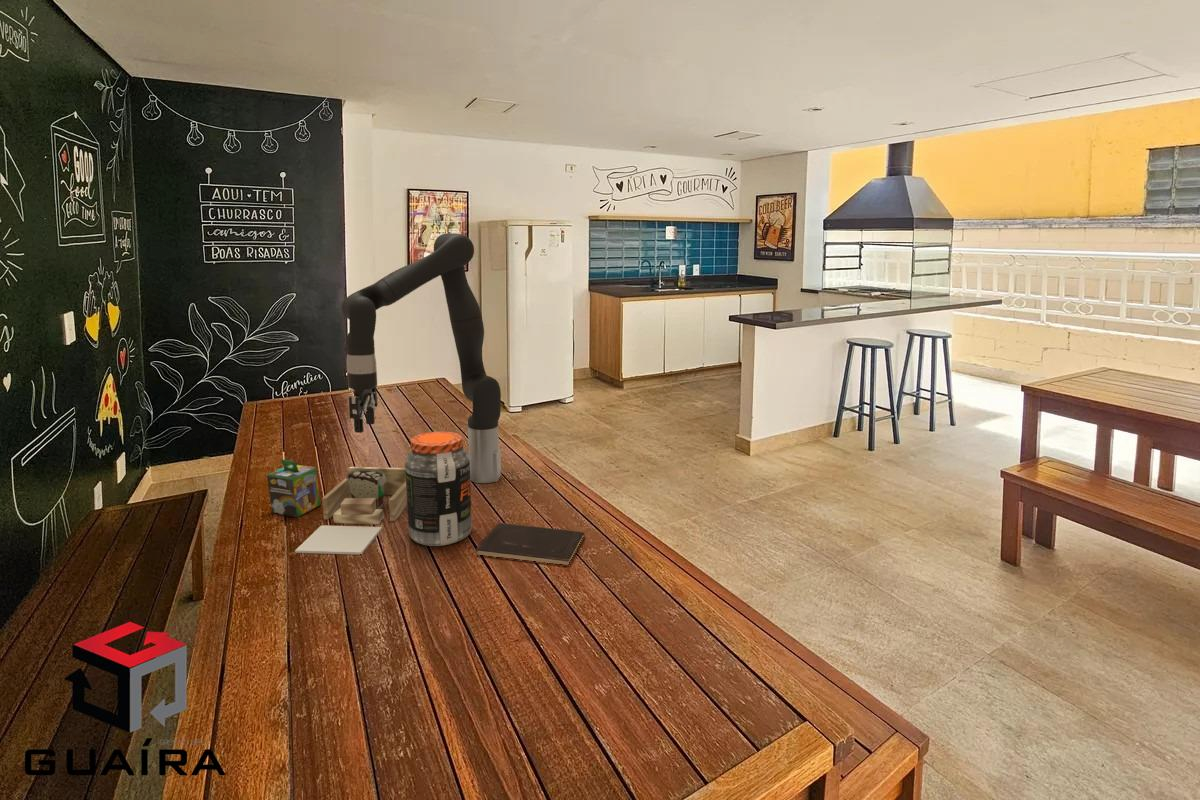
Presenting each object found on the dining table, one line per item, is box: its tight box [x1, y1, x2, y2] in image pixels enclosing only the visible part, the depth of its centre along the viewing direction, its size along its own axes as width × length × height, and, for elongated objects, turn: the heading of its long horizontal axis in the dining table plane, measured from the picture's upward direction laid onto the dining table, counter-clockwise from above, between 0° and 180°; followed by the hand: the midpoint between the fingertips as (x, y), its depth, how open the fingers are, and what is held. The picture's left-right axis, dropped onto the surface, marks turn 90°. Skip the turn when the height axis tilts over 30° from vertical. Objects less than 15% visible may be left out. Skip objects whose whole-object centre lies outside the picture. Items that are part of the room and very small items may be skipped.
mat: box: [294, 524, 383, 556], centre depth 164 cm, size 16×14×1 cm
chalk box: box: [266, 458, 322, 518], centre depth 180 cm, size 9×9×15 cm
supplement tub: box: [404, 431, 473, 547], centre depth 165 cm, size 16×16×26 cm
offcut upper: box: [340, 498, 376, 515], centre depth 175 cm, size 8×4×3 cm, turn 94°
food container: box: [345, 469, 386, 510], centre depth 184 cm, size 12×6×10 cm, turn 65°
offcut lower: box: [332, 508, 385, 525], centre depth 175 cm, size 12×4×3 cm, turn 88°
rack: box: [321, 466, 407, 522], centre depth 184 cm, size 19×19×8 cm
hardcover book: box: [475, 522, 585, 566], centre depth 162 cm, size 16×23×2 cm
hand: (364, 428), depth 181 cm, fingers open, 8 cm apart
